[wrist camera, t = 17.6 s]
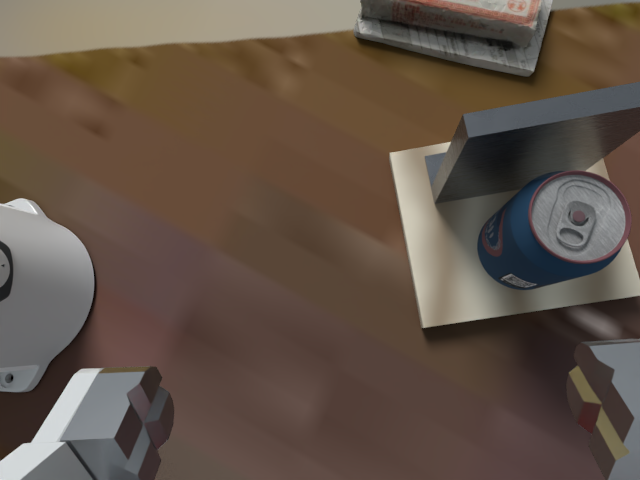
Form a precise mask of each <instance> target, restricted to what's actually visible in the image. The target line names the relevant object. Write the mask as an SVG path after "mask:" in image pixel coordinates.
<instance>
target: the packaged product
mask: <svg viewBox="0 0 640 480" xmlns="http://www.w3.org/2000/svg"><path fill="white" fill-rule="evenodd" d="M360 2H361V9H360V12H359V15H358V18H357V21H356V24H355V27H354V35H355V37H358V38H362V39H367V40H371V41H376V42H381V43H385V44H388V45H392V46H395V47H399V48H402V49H406V50H409V51H413V52H418V53H422V54H426V55H430V56H434V57H438V58H442V59H445V60H450V61H454V62H458V63H462V64H467V65H471V66H476V67H480V68H485V69H490V70H495V71H500V72H505V73H510V74H514V75H519V76H526V77H529V76H530V75H531V74H532V73H533V72H534V69H535V66H536V62H537V59H538V55H539V51H540V48H541V44H542V40H543V36H544V33H545V29H546V25H547V21H548V17H549V13H550V10H551V6H552V2H553V0H361V1H360Z"/></svg>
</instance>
